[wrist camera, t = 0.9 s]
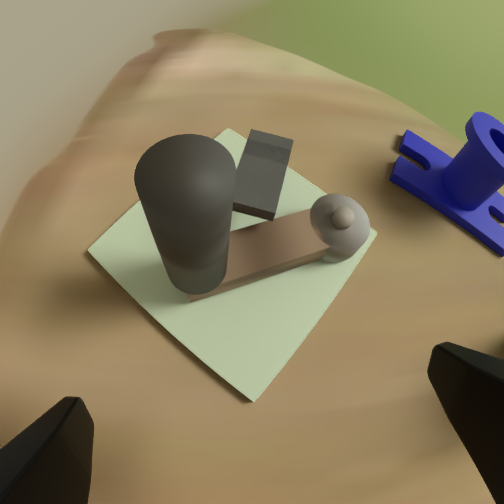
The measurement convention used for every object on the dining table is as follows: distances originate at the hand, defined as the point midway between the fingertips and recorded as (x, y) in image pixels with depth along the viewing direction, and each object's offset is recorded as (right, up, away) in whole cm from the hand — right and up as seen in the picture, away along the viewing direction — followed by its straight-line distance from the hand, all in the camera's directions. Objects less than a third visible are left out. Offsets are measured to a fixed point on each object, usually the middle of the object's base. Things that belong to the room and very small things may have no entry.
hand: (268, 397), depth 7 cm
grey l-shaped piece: (+1, +3, +15) cm, 16 cm away
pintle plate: (-1, +4, +16) cm, 17 cm away
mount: (+21, +9, +22) cm, 31 cm away
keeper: (0, +7, +18) cm, 19 cm away
